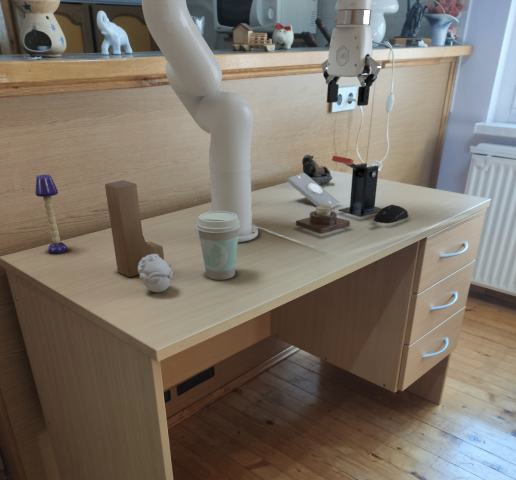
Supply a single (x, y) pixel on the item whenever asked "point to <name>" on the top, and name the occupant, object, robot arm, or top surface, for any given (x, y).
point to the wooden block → (128, 227)
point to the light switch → (312, 190)
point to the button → (323, 210)
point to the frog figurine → (155, 273)
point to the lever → (349, 164)
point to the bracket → (363, 192)
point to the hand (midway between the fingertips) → (346, 103)
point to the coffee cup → (219, 243)
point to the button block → (322, 223)
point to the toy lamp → (50, 210)
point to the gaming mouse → (391, 214)
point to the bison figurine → (316, 170)
